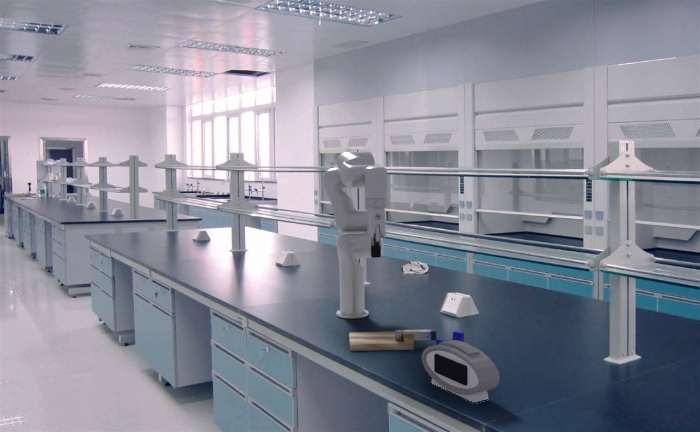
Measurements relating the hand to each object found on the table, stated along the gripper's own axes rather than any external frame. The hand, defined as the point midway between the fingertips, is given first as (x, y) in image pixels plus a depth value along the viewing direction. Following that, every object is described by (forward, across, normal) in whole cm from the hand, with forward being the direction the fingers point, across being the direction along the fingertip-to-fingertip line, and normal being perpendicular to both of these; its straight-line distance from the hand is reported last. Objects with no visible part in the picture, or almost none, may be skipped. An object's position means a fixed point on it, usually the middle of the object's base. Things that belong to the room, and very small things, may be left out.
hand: (375, 256), depth 210 cm
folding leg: (+24, -17, -10) cm, 31 cm away
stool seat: (+26, -12, 0) cm, 29 cm away
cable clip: (+26, -27, -20) cm, 43 cm away
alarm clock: (+25, -57, -14) cm, 63 cm away
